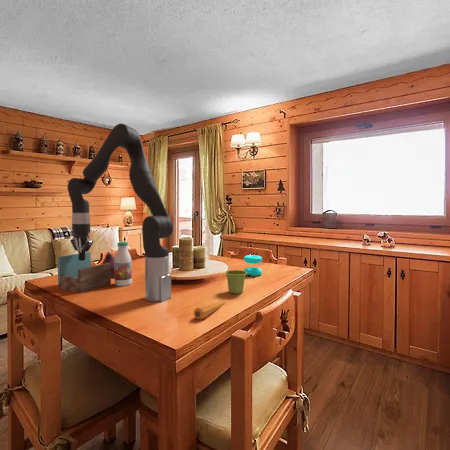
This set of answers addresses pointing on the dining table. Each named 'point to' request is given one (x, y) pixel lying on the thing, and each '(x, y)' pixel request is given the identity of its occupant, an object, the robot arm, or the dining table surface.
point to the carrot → (206, 310)
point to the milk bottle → (123, 265)
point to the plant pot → (235, 280)
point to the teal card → (72, 265)
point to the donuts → (253, 260)
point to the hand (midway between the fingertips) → (82, 260)
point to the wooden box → (87, 279)
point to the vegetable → (111, 260)
